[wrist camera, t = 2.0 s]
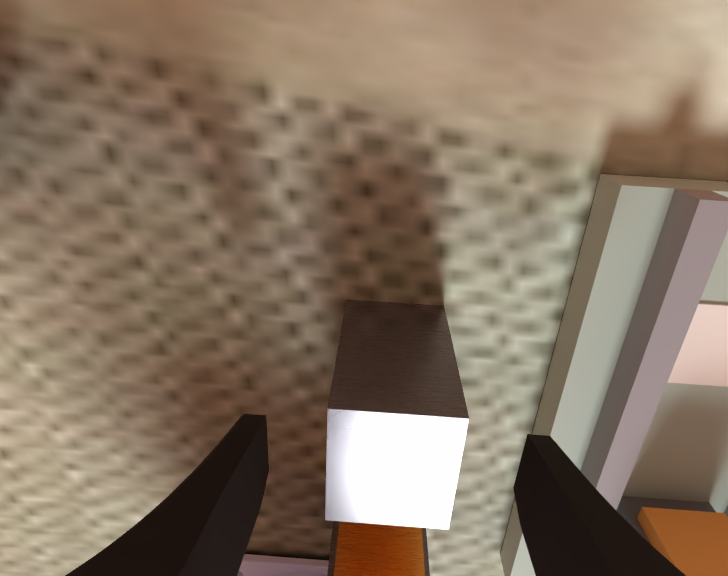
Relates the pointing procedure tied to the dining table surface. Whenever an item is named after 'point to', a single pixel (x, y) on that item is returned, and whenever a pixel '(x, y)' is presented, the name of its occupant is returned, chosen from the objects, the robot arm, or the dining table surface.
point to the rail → (647, 368)
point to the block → (377, 550)
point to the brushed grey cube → (394, 417)
